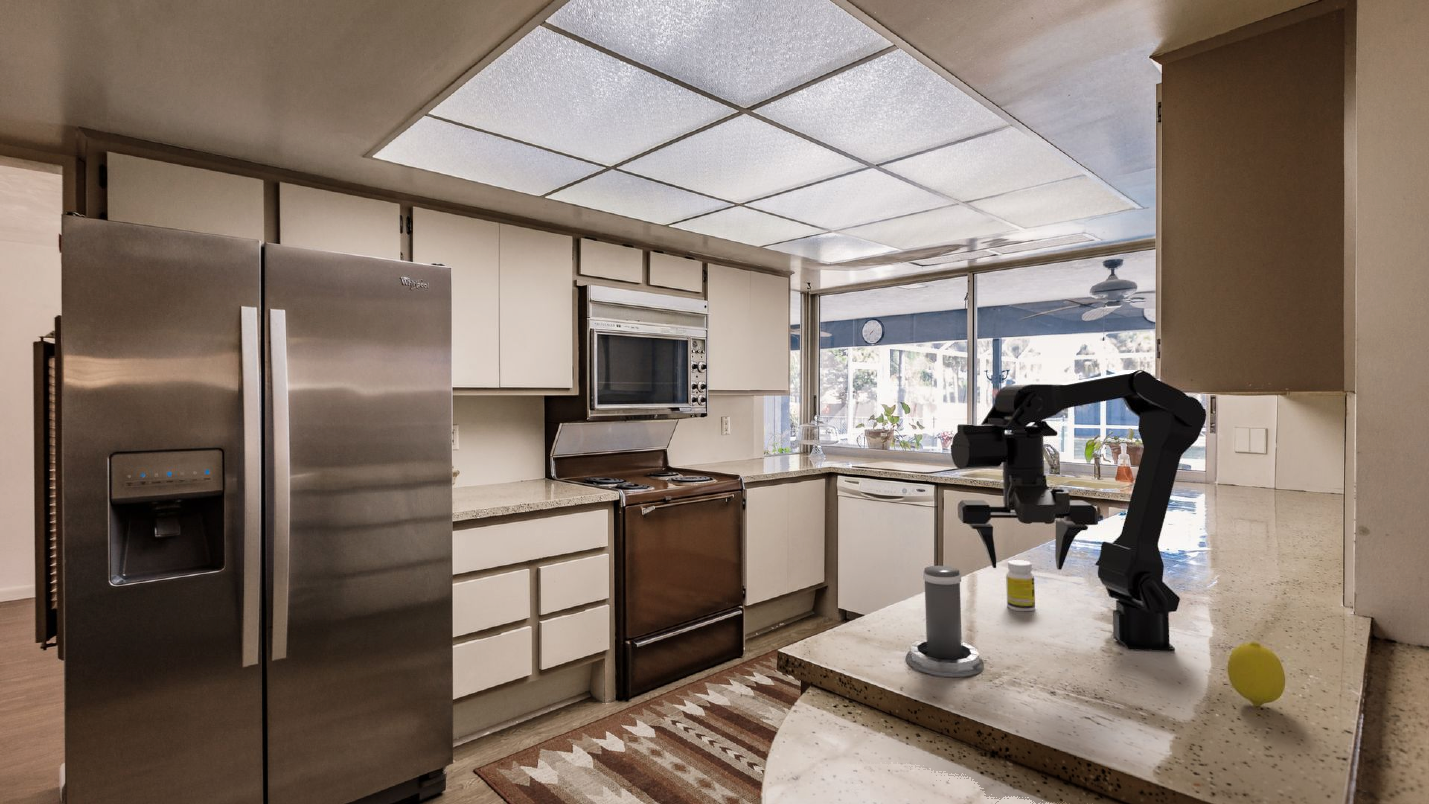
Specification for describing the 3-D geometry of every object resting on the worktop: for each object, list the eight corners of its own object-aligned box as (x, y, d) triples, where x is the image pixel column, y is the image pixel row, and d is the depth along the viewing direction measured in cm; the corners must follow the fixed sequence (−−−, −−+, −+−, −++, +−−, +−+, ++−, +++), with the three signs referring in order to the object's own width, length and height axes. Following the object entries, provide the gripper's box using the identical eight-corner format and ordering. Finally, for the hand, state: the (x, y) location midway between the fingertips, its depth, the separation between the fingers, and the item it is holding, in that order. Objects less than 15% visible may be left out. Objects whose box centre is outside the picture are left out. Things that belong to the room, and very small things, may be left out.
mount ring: (976, 649, 102) (976, 638, 102) (990, 679, 91) (990, 667, 91) (903, 646, 104) (903, 635, 104) (909, 675, 94) (908, 663, 94)
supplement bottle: (1038, 612, 118) (1037, 566, 118) (1010, 611, 119) (1009, 565, 119) (1031, 604, 123) (1029, 559, 123) (1004, 603, 124) (1002, 559, 123)
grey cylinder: (967, 656, 99) (964, 567, 99) (959, 670, 94) (957, 576, 94) (930, 650, 102) (927, 564, 101) (921, 663, 97) (918, 572, 97)
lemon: (1217, 697, 84) (1215, 635, 84) (1257, 694, 85) (1255, 632, 84) (1256, 718, 79) (1254, 652, 79) (1298, 714, 79) (1296, 648, 79)
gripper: (967, 473, 94) (970, 581, 94) (1111, 472, 90) (1114, 585, 90) (955, 465, 105) (958, 562, 105) (1083, 463, 101) (1086, 564, 101)
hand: (1026, 568), depth 100 cm, fingers open, 9 cm apart
